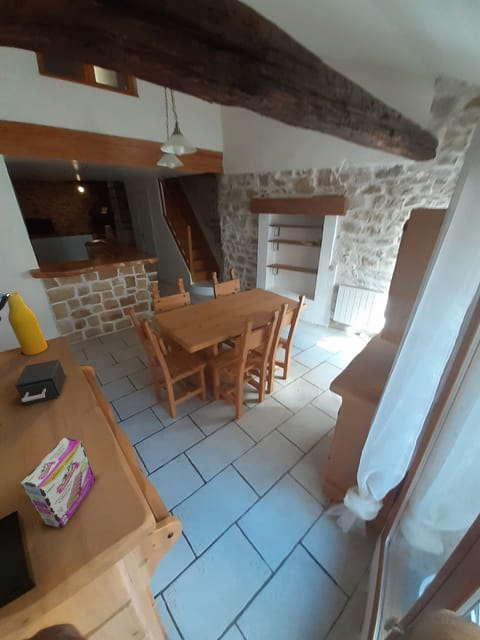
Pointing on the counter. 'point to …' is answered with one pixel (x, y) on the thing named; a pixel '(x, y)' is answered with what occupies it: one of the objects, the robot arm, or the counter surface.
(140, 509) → the counter surface
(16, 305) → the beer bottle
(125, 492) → the counter surface
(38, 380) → the dark grey cabinet
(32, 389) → the drawer
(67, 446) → the candy bar box
